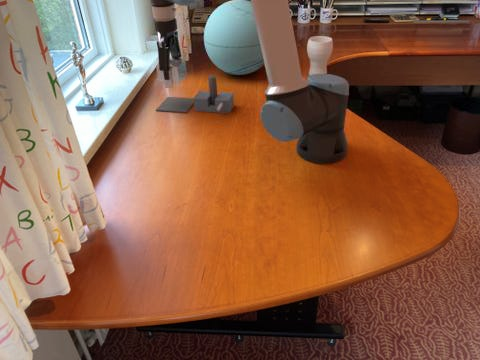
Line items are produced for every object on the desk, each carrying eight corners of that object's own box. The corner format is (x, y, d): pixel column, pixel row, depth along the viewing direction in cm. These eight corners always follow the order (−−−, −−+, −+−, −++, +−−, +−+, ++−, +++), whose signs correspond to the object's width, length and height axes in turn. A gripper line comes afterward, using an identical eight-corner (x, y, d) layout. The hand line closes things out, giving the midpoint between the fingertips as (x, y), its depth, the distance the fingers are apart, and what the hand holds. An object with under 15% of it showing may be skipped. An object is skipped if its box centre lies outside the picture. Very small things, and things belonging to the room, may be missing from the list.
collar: (179, 83, 143) (177, 66, 139) (158, 81, 145) (156, 65, 141) (186, 75, 149) (185, 59, 146) (166, 73, 151) (164, 58, 147)
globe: (263, 88, 164) (263, 10, 146) (196, 81, 172) (188, 7, 155) (281, 64, 187) (283, -6, 169) (221, 59, 195) (216, -8, 178)
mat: (186, 113, 147) (186, 111, 147) (155, 111, 149) (155, 109, 149) (196, 100, 156) (196, 98, 156) (167, 98, 159) (167, 96, 159)
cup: (330, 79, 169) (333, 43, 160) (304, 78, 171) (306, 42, 162) (330, 70, 177) (333, 35, 169) (306, 69, 179) (308, 35, 171)
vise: (226, 118, 142) (224, 86, 135) (190, 116, 145) (187, 84, 138) (233, 105, 151) (232, 74, 144) (200, 103, 154) (197, 72, 147)
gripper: (163, 27, 126) (172, 95, 139) (186, 11, 142) (192, 73, 155) (141, 26, 127) (152, 93, 140) (166, 10, 144) (174, 72, 157)
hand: (173, 83), depth 148 cm, fingers closed on collar, 8 cm apart
